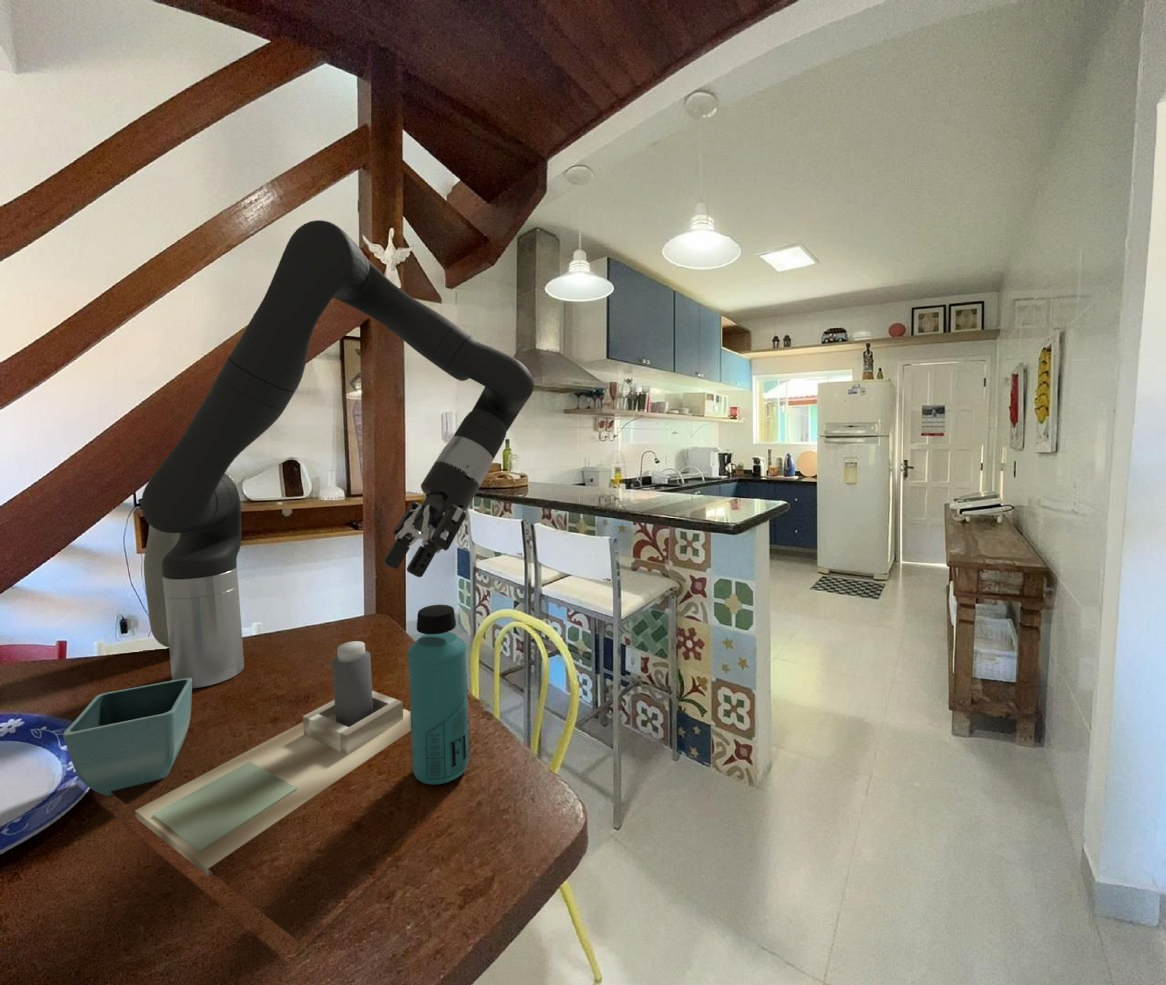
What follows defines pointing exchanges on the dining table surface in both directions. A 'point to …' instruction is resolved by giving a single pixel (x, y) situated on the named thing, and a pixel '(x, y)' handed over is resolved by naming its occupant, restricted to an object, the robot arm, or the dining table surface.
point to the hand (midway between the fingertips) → (400, 570)
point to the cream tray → (269, 781)
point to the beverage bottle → (438, 698)
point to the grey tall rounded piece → (157, 580)
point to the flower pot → (130, 735)
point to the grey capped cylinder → (352, 683)
